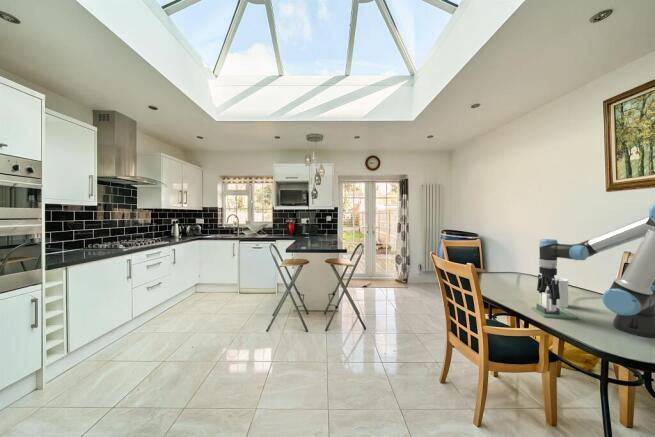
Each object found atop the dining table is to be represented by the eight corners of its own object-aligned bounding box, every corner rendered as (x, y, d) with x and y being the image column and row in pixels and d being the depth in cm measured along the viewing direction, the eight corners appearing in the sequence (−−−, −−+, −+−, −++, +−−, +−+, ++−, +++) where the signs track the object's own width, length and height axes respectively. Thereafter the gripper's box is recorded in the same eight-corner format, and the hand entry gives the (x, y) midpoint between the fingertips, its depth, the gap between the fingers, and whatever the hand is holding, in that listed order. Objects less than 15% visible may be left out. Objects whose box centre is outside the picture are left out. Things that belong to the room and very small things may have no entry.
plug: (546, 312, 143) (546, 291, 143) (541, 309, 147) (542, 288, 147) (554, 313, 142) (554, 291, 142) (549, 310, 146) (550, 289, 146)
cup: (560, 303, 161) (561, 277, 161) (571, 307, 153) (572, 280, 153) (546, 302, 162) (546, 277, 162) (556, 307, 154) (557, 280, 154)
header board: (578, 319, 137) (579, 311, 137) (544, 317, 140) (544, 309, 140) (562, 310, 148) (562, 303, 148) (531, 309, 151) (531, 302, 151)
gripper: (569, 271, 133) (569, 315, 134) (543, 263, 154) (543, 301, 154) (552, 270, 134) (552, 314, 135) (529, 263, 155) (529, 301, 156)
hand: (547, 307), depth 145 cm, fingers open, 8 cm apart
